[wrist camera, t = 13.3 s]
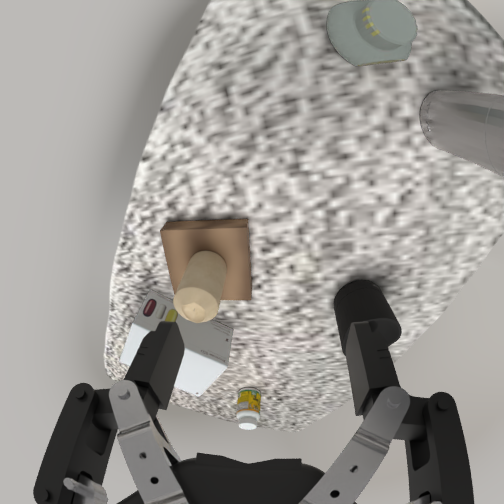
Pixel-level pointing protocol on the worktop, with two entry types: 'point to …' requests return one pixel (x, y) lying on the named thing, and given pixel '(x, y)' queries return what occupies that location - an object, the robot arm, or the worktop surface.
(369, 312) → the pen holder
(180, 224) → the walnut pedestal
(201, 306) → the candle
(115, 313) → the worktop surface
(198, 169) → the worktop surface
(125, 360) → the supplement box
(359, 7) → the air freshener
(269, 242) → the worktop surface
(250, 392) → the supplement bottle
